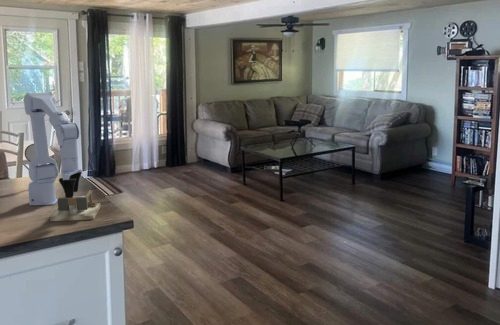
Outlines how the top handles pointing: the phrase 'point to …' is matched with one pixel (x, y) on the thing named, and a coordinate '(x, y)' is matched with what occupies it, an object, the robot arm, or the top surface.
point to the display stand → (77, 212)
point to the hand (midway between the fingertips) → (72, 194)
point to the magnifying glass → (30, 152)
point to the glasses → (74, 202)
